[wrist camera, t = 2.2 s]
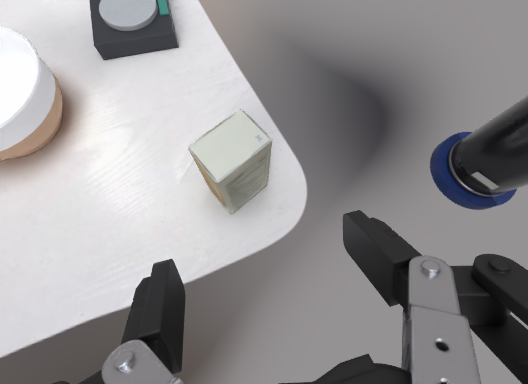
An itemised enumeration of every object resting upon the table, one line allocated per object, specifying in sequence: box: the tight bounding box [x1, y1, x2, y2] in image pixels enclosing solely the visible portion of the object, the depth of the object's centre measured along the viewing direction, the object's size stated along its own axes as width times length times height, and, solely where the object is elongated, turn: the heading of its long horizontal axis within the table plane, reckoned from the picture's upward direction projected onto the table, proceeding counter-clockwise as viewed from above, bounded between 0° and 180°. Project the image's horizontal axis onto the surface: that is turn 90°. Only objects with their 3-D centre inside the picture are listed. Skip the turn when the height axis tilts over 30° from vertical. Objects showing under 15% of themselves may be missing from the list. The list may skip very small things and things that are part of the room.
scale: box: [90, 0, 178, 60], centre depth 40 cm, size 11×11×3 cm
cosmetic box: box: [188, 109, 272, 214], centre depth 29 cm, size 6×4×12 cm
